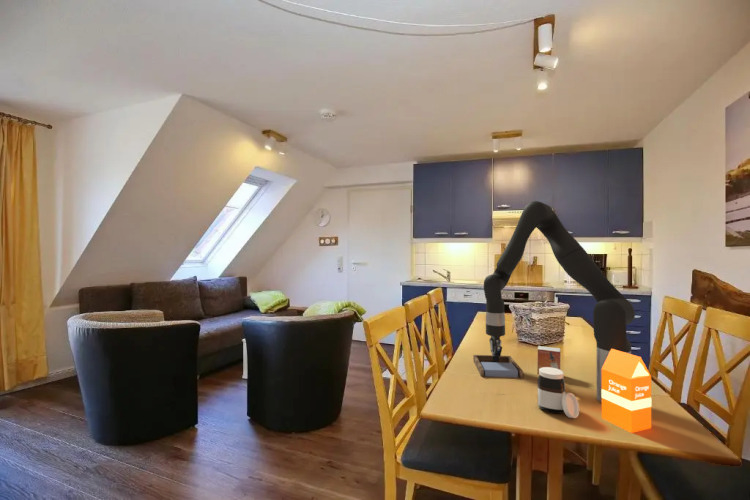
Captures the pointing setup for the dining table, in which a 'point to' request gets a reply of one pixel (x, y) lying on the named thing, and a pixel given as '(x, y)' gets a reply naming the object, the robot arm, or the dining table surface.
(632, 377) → the orange juice
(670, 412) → the dining table surface
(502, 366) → the cover plate
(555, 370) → the spread jar
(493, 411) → the dining table surface
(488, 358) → the walnut tray
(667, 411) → the dining table surface
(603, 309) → the robot arm
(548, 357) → the small box
